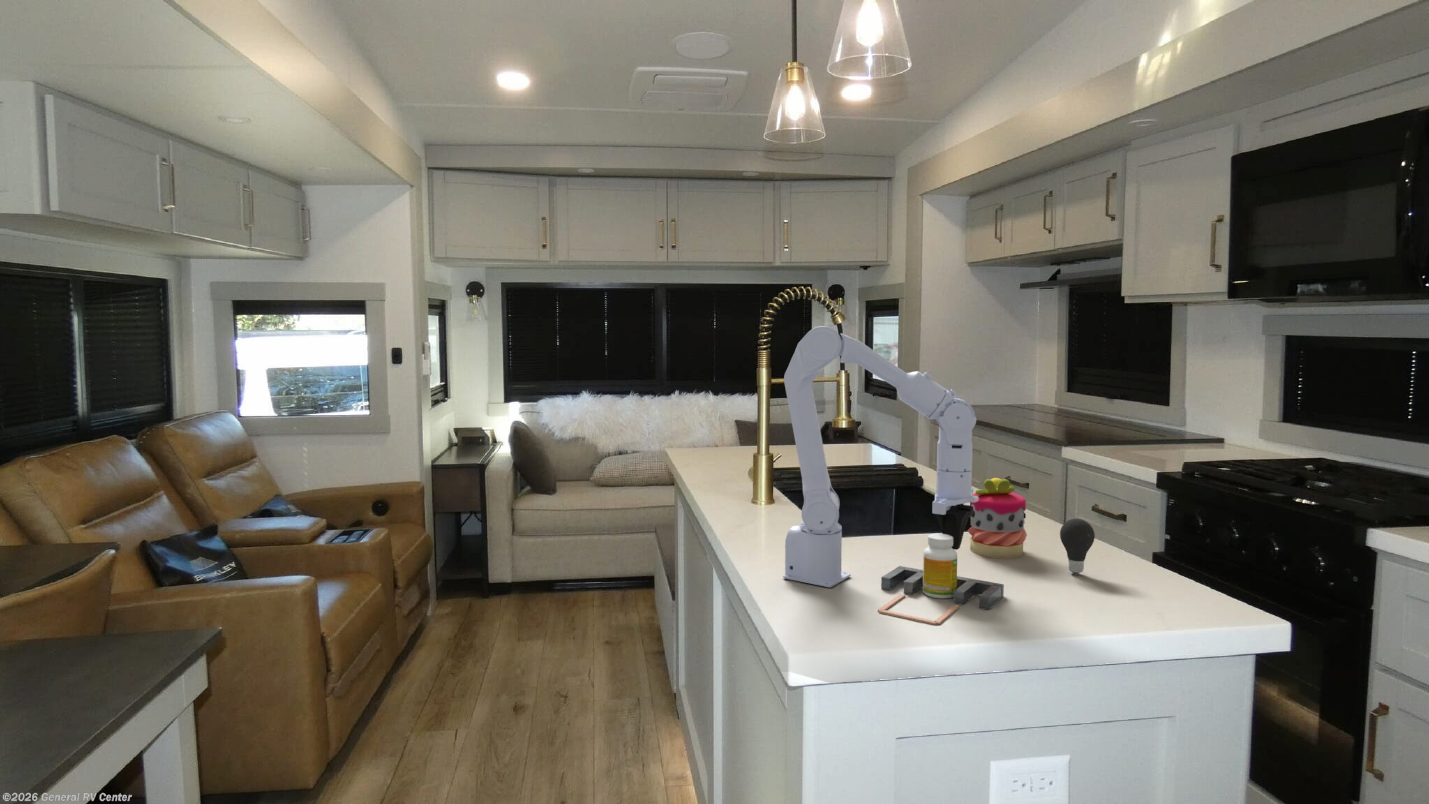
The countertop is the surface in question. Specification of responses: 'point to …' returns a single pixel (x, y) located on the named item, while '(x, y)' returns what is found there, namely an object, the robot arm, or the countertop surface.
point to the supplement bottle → (940, 567)
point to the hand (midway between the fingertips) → (952, 548)
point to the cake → (998, 521)
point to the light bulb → (1077, 542)
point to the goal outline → (901, 596)
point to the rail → (962, 594)
